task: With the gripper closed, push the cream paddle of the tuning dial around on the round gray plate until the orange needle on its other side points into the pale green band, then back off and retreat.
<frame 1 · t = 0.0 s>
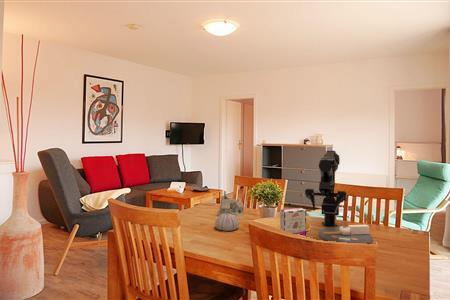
hand: (324, 211, 145), 15 cm above the table, tool tilted 35°, fingers open, 9 cm apart
ceramic cottage: (230, 215, 196), on the table
sea urchin shell: (227, 228, 168), on the table
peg: (346, 229, 154), point 3 cm above the table, hinge at 0.0°
round gray plate: (344, 236, 154), on the table
candy bar box: (292, 244, 144), on the table
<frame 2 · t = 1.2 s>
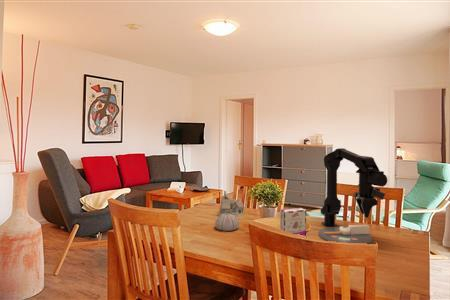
hand: (364, 215, 149), 12 cm above the table, tool pointing down, fingers open, 7 cm apart
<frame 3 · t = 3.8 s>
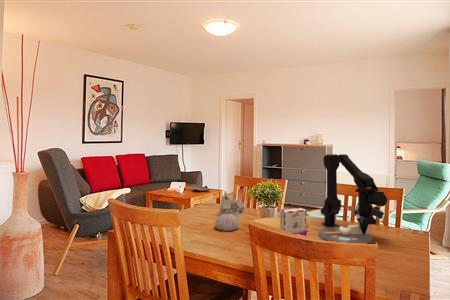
hand: (363, 234, 152), 2 cm above the table, tool pointing down, fingers closed
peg: (346, 229, 154), point 3 cm above the table, hinge at 0.6°, touching gripper
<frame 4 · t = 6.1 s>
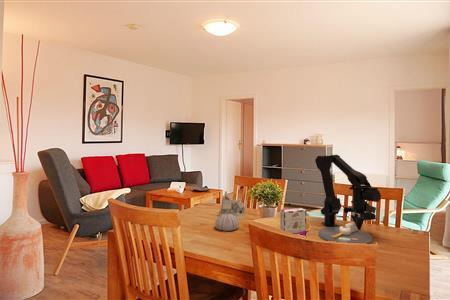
hand: (359, 229, 157), 3 cm above the table, tool pointing down, fingers closed
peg: (345, 229, 155), point 3 cm above the table, hinge at 35.9°, touching gripper
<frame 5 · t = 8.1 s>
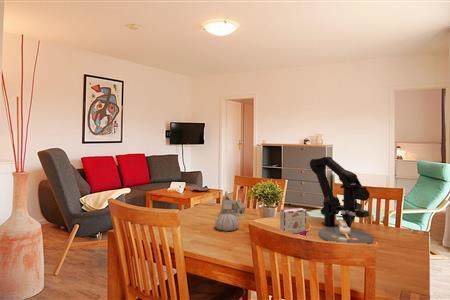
hand: (349, 227, 161), 2 cm above the table, tool pointing down, fingers closed
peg: (344, 229, 155), point 3 cm above the table, hinge at 73.0°, touching gripper
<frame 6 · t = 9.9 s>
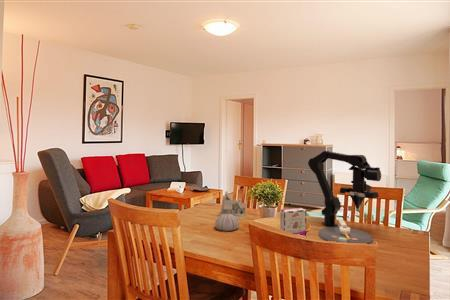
hand: (357, 208, 162), 12 cm above the table, tool pointing down, fingers closed
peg: (344, 229, 155), point 3 cm above the table, hinge at 73.8°
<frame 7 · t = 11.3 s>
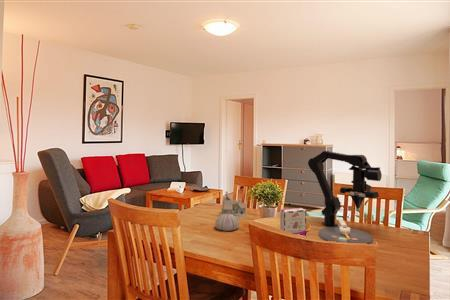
hand: (358, 208, 163), 12 cm above the table, tool pointing down, fingers closed
at the end: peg at +74° (first picture: +0°) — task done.
